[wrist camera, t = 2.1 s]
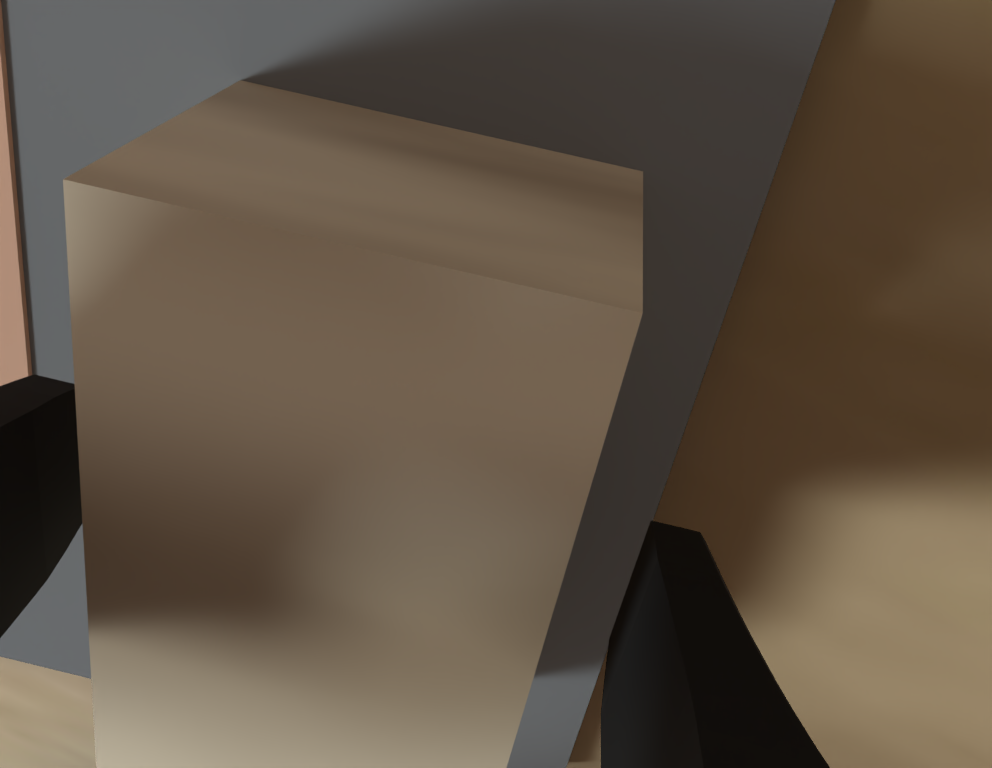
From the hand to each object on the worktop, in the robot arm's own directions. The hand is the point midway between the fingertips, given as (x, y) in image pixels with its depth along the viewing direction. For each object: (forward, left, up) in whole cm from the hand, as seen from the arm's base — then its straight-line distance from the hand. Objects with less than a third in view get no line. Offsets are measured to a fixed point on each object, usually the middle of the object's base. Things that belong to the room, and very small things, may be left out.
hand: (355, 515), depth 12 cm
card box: (0, 0, -2) cm, 2 cm away
